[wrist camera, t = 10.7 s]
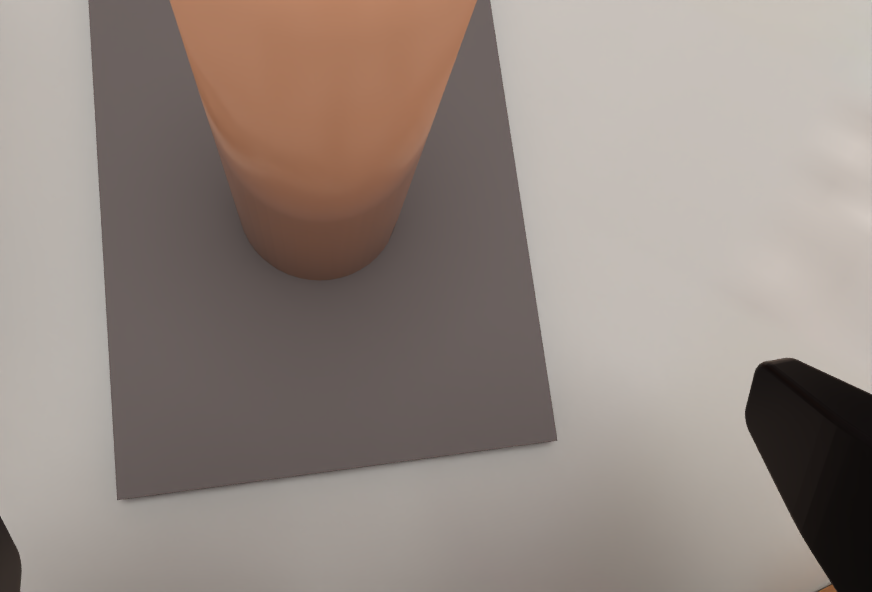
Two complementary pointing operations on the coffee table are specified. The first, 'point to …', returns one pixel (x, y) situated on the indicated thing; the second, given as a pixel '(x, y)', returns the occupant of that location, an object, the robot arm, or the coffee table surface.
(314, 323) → the mat
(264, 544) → the coffee table surface
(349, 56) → the tan cylinder
